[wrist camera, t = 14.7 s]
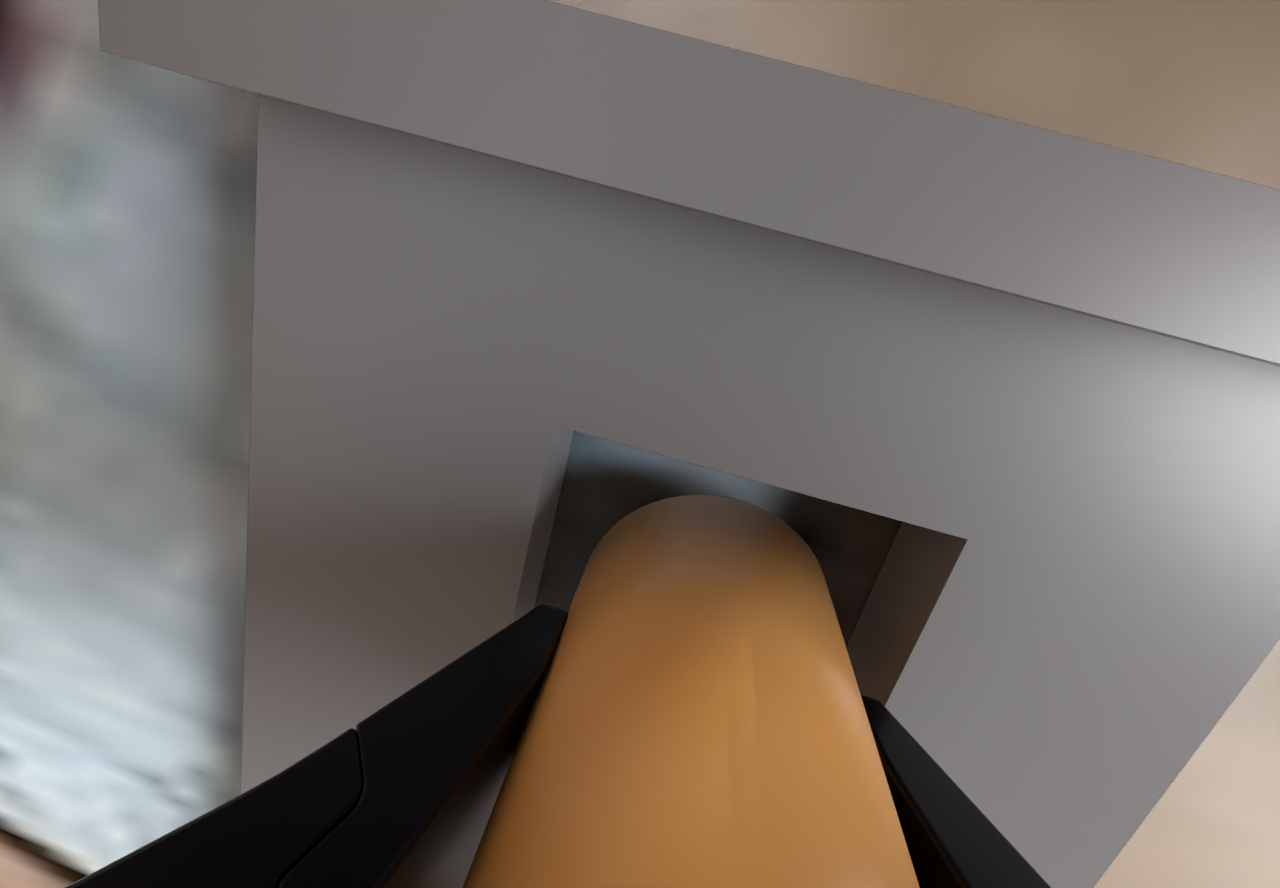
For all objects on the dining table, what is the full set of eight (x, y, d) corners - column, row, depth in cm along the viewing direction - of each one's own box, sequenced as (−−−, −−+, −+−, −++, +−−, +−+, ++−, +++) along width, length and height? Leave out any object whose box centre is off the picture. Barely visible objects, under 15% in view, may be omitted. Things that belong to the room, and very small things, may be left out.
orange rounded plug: (781, 733, 11) (851, 1289, 5) (558, 670, 11) (389, 1145, 5) (867, 536, 9) (1092, 999, 4) (611, 463, 9) (460, 811, 4)
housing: (780, 1175, 17) (798, 1448, 13) (285, 1024, 17) (164, 1248, 13) (1348, 287, 8) (1852, 338, 5) (359, 28, 9) (93, -117, 5)
